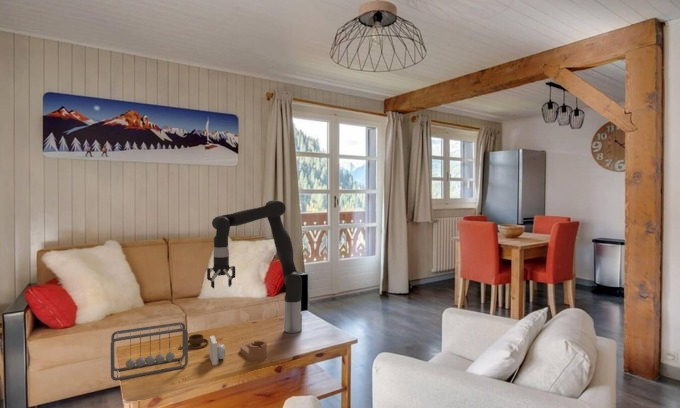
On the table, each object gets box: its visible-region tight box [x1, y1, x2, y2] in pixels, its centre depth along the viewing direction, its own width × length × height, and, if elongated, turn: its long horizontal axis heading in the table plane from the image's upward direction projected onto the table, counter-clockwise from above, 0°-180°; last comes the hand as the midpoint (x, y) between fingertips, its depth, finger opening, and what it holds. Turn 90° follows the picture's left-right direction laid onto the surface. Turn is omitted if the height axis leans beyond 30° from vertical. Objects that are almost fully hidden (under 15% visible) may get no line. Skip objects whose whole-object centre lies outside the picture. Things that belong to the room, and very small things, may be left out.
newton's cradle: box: [110, 321, 189, 381], centre depth 175 cm, size 30×10×18 cm, turn 118°
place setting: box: [178, 333, 209, 350], centre depth 200 cm, size 18×20×6 cm
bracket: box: [239, 339, 268, 362], centre depth 193 cm, size 18×8×7 cm, turn 37°
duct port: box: [209, 335, 226, 366], centre depth 186 cm, size 6×10×10 cm, turn 26°
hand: (221, 287), depth 203 cm, fingers open, 7 cm apart
